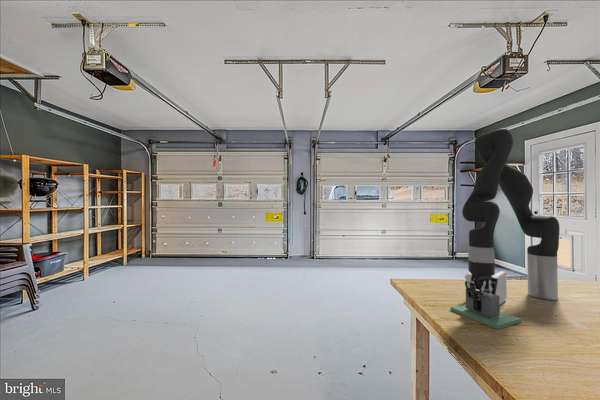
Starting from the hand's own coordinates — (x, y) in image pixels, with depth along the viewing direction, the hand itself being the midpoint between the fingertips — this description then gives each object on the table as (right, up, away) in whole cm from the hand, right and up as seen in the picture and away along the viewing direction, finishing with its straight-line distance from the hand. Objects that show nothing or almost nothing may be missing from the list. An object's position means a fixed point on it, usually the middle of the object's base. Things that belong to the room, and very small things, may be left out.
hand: (481, 309), depth 93 cm
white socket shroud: (+11, -3, +14) cm, 19 cm away
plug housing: (0, -1, 0) cm, 1 cm away
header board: (+1, -2, 0) cm, 3 cm away
